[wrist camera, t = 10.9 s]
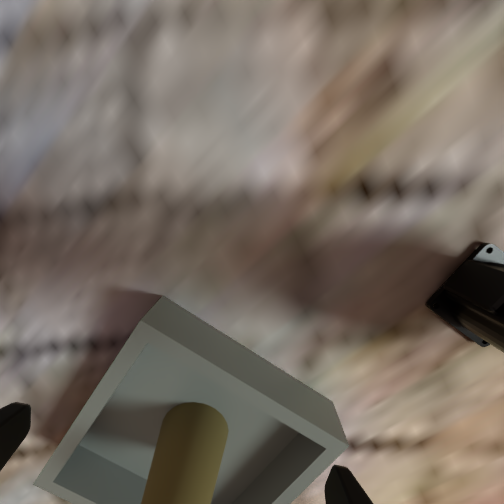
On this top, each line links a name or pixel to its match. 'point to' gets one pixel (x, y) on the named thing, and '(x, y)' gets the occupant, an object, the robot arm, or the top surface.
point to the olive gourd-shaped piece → (187, 456)
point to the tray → (201, 391)
